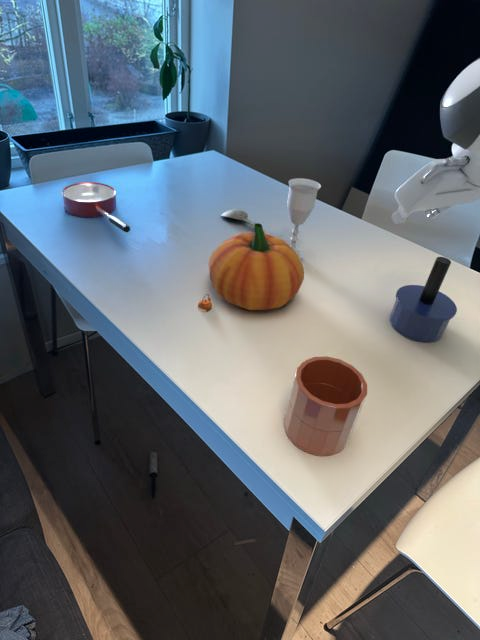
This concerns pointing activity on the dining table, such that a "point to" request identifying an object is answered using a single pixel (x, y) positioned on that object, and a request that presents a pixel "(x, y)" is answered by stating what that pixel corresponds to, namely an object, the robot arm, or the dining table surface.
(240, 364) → the dining table surface
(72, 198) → the frying pan
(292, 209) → the chalice
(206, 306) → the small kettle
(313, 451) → the pot
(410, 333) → the blue round container
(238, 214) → the soupspoon
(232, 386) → the dining table surface
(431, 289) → the lid
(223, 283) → the pumpkin
